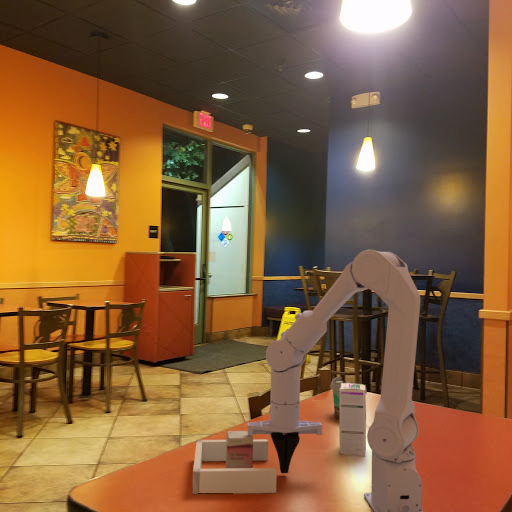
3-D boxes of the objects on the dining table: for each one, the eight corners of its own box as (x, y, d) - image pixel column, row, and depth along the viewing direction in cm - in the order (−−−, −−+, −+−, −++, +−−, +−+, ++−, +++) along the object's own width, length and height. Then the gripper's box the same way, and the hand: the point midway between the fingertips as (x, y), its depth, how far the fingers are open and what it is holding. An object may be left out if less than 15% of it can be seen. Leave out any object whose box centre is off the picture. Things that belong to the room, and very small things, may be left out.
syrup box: (366, 457, 109) (366, 389, 109) (338, 454, 110) (339, 387, 111) (365, 447, 115) (366, 383, 115) (339, 445, 116) (340, 382, 116)
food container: (321, 413, 141) (321, 377, 141) (339, 411, 144) (340, 376, 144) (347, 426, 130) (347, 387, 130) (366, 424, 132) (366, 385, 133)
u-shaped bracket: (276, 492, 91) (276, 470, 91) (192, 494, 90) (192, 471, 90) (267, 458, 107) (267, 439, 107) (196, 459, 106) (196, 439, 106)
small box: (226, 479, 96) (227, 437, 96) (225, 470, 100) (226, 430, 101) (252, 478, 97) (253, 437, 97) (250, 469, 101) (251, 430, 101)
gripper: (317, 395, 103) (316, 462, 103) (246, 395, 102) (245, 463, 102) (324, 405, 96) (323, 477, 96) (249, 405, 95) (247, 478, 95)
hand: (283, 471), depth 98 cm, fingers closed
